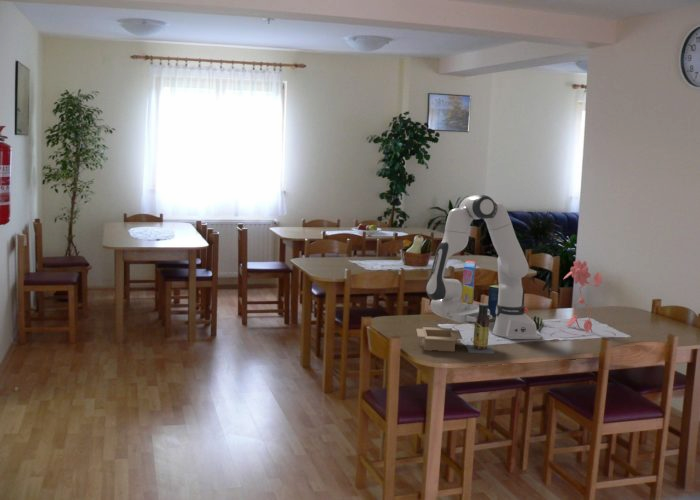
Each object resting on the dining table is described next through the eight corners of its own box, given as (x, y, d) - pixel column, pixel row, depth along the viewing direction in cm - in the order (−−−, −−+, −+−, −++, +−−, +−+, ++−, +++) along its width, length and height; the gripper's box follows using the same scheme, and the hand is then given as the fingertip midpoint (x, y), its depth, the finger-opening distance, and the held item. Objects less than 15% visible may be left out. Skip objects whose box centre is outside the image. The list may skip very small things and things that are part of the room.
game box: (471, 320, 377) (474, 267, 373) (460, 319, 378) (463, 266, 374) (472, 311, 397) (476, 260, 393) (462, 310, 398) (465, 260, 394)
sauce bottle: (471, 346, 327) (474, 301, 324) (485, 346, 328) (488, 302, 325) (475, 350, 321) (478, 305, 318) (489, 350, 321) (492, 305, 318)
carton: (457, 341, 336) (458, 328, 335) (462, 353, 317) (463, 340, 316) (415, 339, 336) (416, 326, 335) (417, 351, 318) (418, 338, 317)
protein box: (498, 312, 397) (500, 283, 395) (523, 318, 386) (525, 288, 383) (486, 314, 390) (488, 285, 388) (511, 320, 379) (513, 291, 376)
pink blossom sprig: (568, 322, 379) (572, 254, 373) (605, 335, 356) (611, 263, 350) (544, 325, 372) (548, 256, 367) (581, 339, 350) (586, 266, 344)
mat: (490, 346, 329) (490, 345, 329) (494, 354, 319) (494, 352, 318) (465, 345, 330) (465, 344, 330) (468, 352, 319) (468, 351, 319)
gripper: (444, 307, 325) (467, 314, 314) (476, 302, 338) (499, 308, 327) (443, 321, 326) (466, 329, 315) (475, 316, 339) (498, 322, 328)
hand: (483, 318), depth 321 cm, fingers open, 8 cm apart
